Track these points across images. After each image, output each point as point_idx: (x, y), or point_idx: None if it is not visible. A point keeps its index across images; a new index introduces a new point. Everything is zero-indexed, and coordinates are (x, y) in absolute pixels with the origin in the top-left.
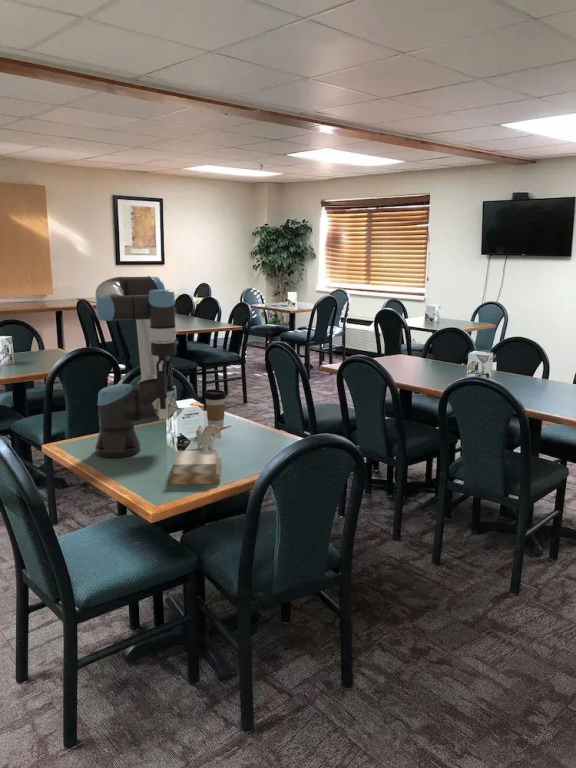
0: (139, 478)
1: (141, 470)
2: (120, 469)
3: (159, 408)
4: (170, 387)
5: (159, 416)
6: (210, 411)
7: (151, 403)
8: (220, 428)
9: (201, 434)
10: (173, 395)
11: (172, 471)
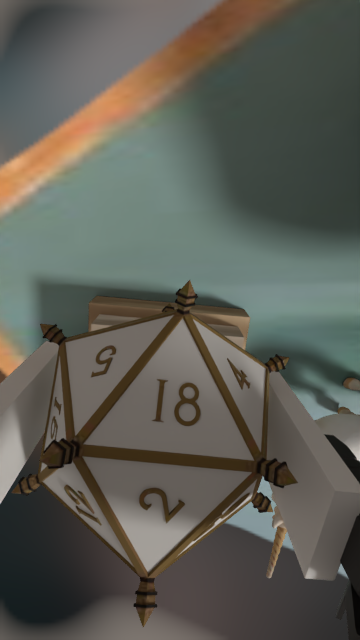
0: (161, 196)
1: (238, 199)
2: (265, 116)
3: (6, 385)
4: (355, 629)
5: (36, 352)
6: None
7: (177, 306)
8: (281, 531)
9: (340, 438)
10: (142, 584)
11: (122, 311)
